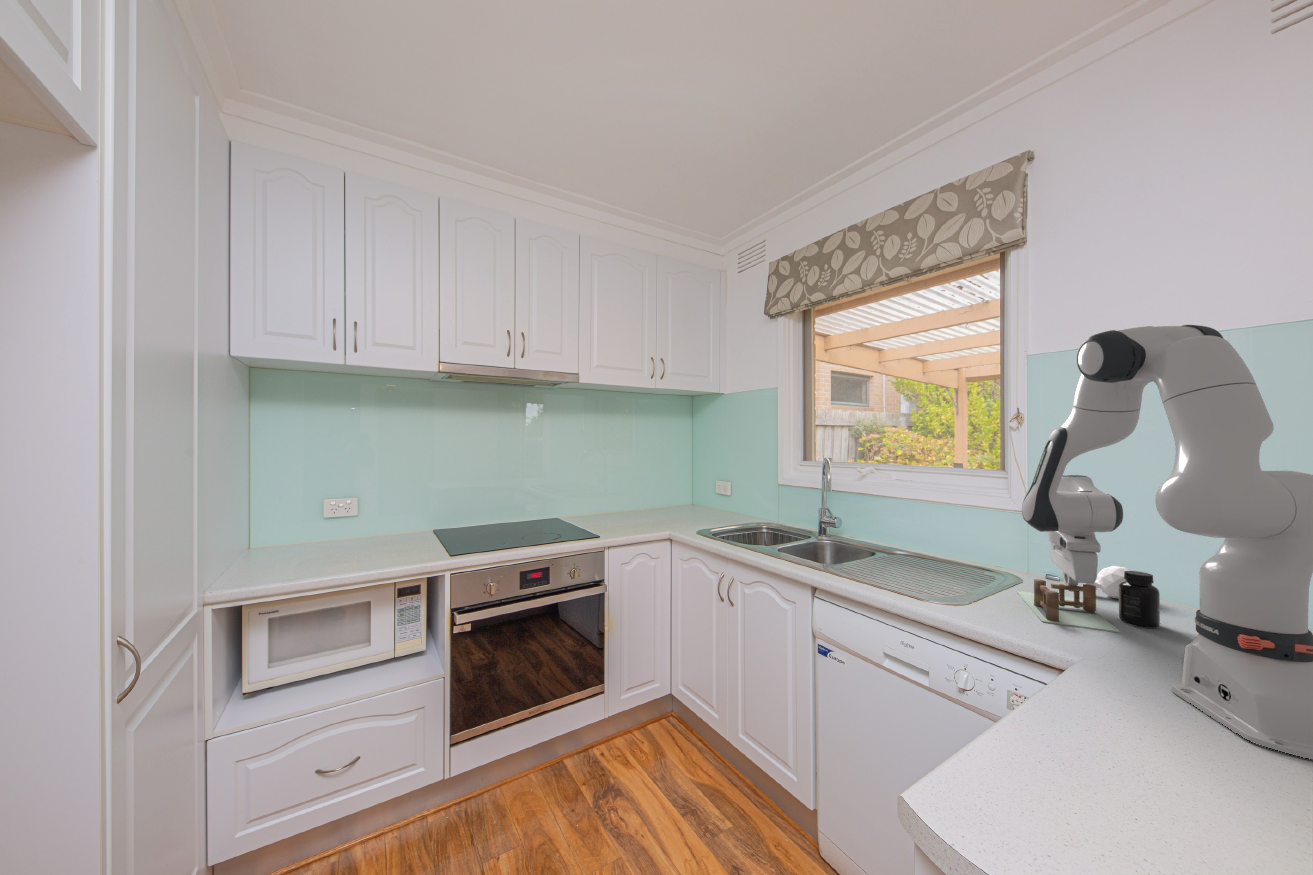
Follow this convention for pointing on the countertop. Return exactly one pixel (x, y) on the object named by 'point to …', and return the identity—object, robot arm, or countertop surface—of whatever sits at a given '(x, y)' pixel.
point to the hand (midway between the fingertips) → (1071, 590)
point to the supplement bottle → (1139, 600)
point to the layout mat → (1070, 615)
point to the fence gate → (1078, 596)
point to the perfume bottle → (1110, 580)
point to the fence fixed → (1046, 600)
